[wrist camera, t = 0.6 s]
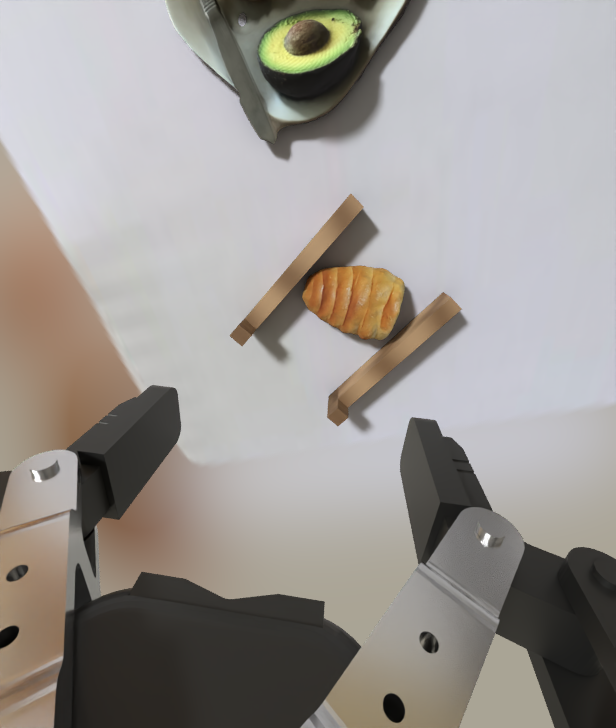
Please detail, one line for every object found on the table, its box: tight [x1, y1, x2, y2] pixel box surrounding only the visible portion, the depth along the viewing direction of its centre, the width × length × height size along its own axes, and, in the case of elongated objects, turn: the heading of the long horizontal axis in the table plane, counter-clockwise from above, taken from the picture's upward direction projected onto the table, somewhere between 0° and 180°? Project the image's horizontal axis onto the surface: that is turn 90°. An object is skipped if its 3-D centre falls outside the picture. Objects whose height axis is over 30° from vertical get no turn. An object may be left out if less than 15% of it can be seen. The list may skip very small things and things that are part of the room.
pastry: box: [302, 266, 405, 340], centre depth 32 cm, size 9×7×4 cm
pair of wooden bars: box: [230, 194, 461, 426], centre depth 32 cm, size 16×14×4 cm
